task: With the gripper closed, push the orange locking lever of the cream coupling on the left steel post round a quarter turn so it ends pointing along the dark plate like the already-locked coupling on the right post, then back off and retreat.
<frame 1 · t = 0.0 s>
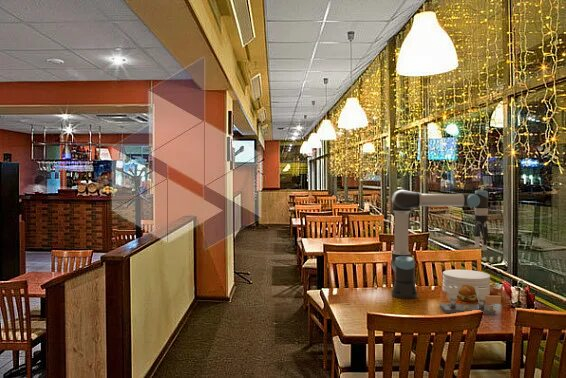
hand: (480, 248, 291), 28 cm above the table, fingers open, 13 cm apart
lock plate: (466, 310, 251), on the table
coupling a: (450, 292, 255), point 9 cm above the table, hinge at 0.0°
plate stack: (465, 292, 294), on the table
coupling b locked: (481, 311, 250), resting on lock plate
cheeseburger: (467, 300, 273), on the table
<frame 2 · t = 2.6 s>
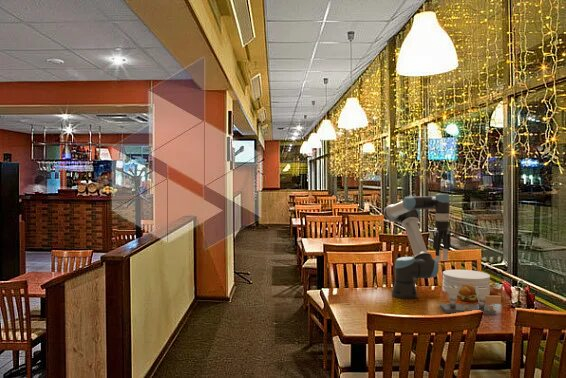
hand: (441, 260, 264), 25 cm above the table, fingers open, 6 cm apart
nothing on the table moved.
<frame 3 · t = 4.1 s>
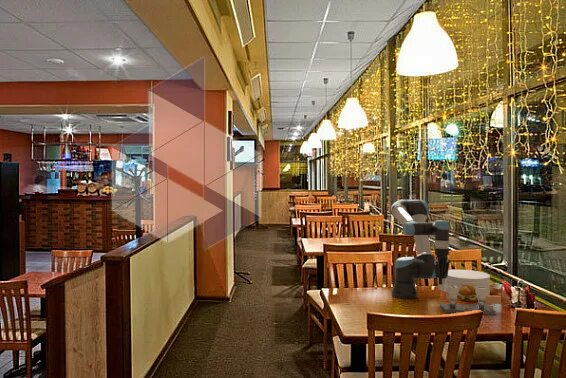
hand: (441, 289, 257), 10 cm above the table, fingers closed
nothing on the table moved.
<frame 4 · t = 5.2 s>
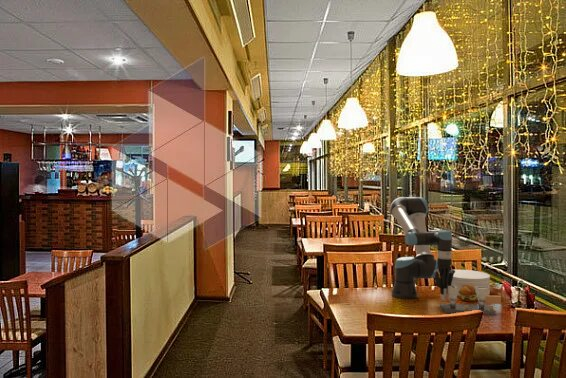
hand: (443, 299, 258), 4 cm above the table, fingers closed
coupling a: (451, 292, 255), point 9 cm above the table, hinge at 1.0°, touching gripper
everything else where it was.
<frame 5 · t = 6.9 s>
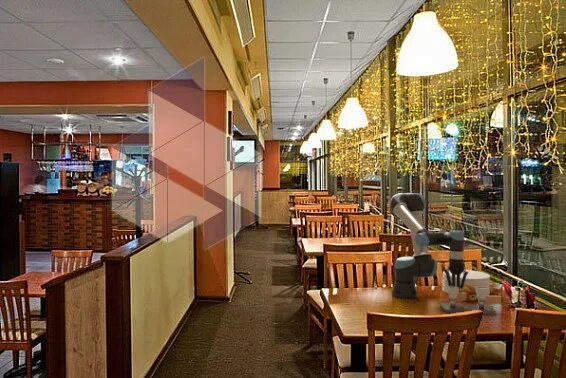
hand: (455, 300, 258), 4 cm above the table, fingers closed
coupling a: (457, 293, 254), point 9 cm above the table, hinge at 54.1°, touching gripper
everything else where it was.
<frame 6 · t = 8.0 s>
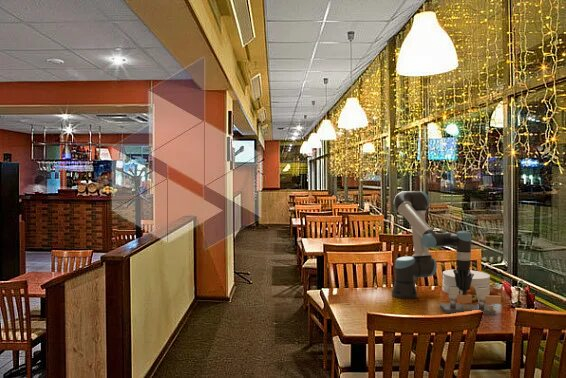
hand: (462, 301, 255), 4 cm above the table, fingers closed
coupling a: (460, 294, 251), point 9 cm above the table, hinge at 86.5°, touching gripper
everything else where it was.
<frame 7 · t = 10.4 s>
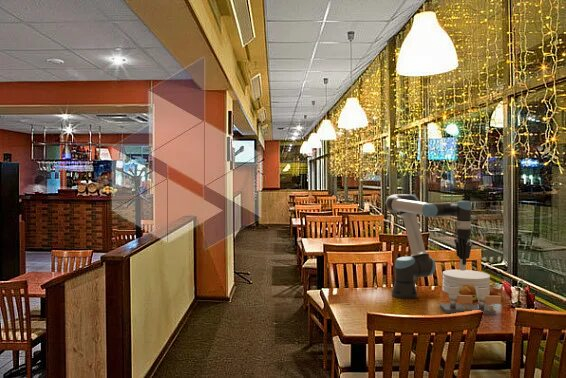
hand: (462, 270, 258), 21 cm above the table, fingers closed
coupling a: (460, 294, 251), point 9 cm above the table, hinge at 94.3°
everything else where it was.
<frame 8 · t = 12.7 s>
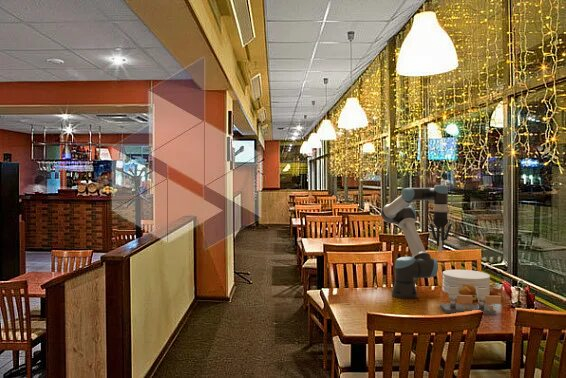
hand: (440, 251, 268), 29 cm above the table, fingers closed
nothing on the table moved.
at the end: coupling a at +94° (first picture: +0°); the gripper is holding nothing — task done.
